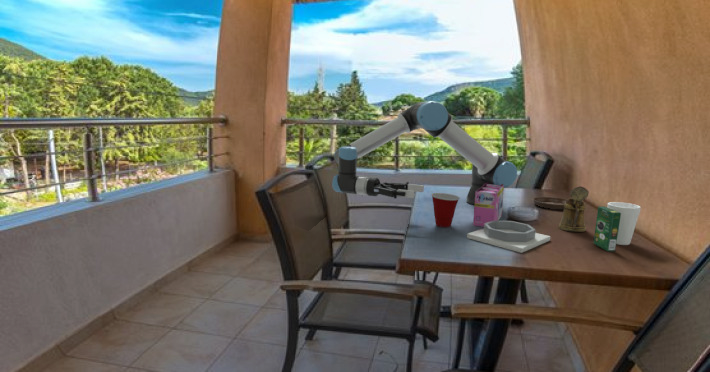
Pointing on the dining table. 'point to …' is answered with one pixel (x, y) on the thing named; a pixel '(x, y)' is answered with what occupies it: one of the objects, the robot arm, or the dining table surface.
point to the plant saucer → (561, 202)
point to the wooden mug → (574, 211)
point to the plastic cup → (444, 208)
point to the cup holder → (509, 235)
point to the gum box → (488, 204)
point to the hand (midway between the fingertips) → (419, 191)
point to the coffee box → (607, 228)
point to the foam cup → (625, 220)
